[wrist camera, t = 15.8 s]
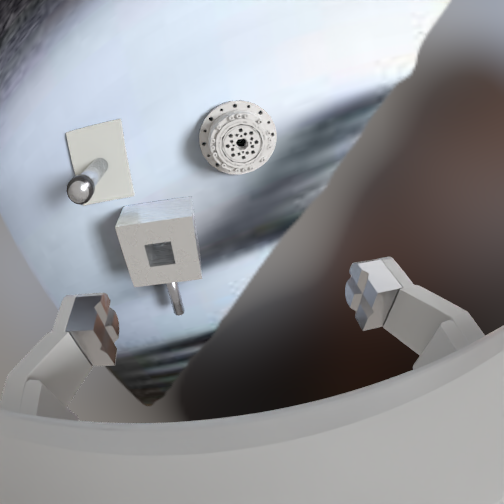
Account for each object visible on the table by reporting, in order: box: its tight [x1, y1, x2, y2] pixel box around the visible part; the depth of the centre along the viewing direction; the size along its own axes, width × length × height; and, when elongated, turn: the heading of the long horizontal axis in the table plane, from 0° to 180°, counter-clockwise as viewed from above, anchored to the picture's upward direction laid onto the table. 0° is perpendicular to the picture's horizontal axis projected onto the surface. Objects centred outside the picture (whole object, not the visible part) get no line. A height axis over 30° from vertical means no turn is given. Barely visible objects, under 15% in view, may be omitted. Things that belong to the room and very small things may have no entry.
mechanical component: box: [199, 100, 277, 174], centre depth 35 cm, size 10×4×10 cm
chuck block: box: [115, 196, 202, 315], centre depth 42 cm, size 19×10×6 cm, turn 2°
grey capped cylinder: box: [67, 158, 108, 204], centre depth 30 cm, size 3×3×9 cm
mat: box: [66, 119, 135, 205], centre depth 34 cm, size 11×8×1 cm
